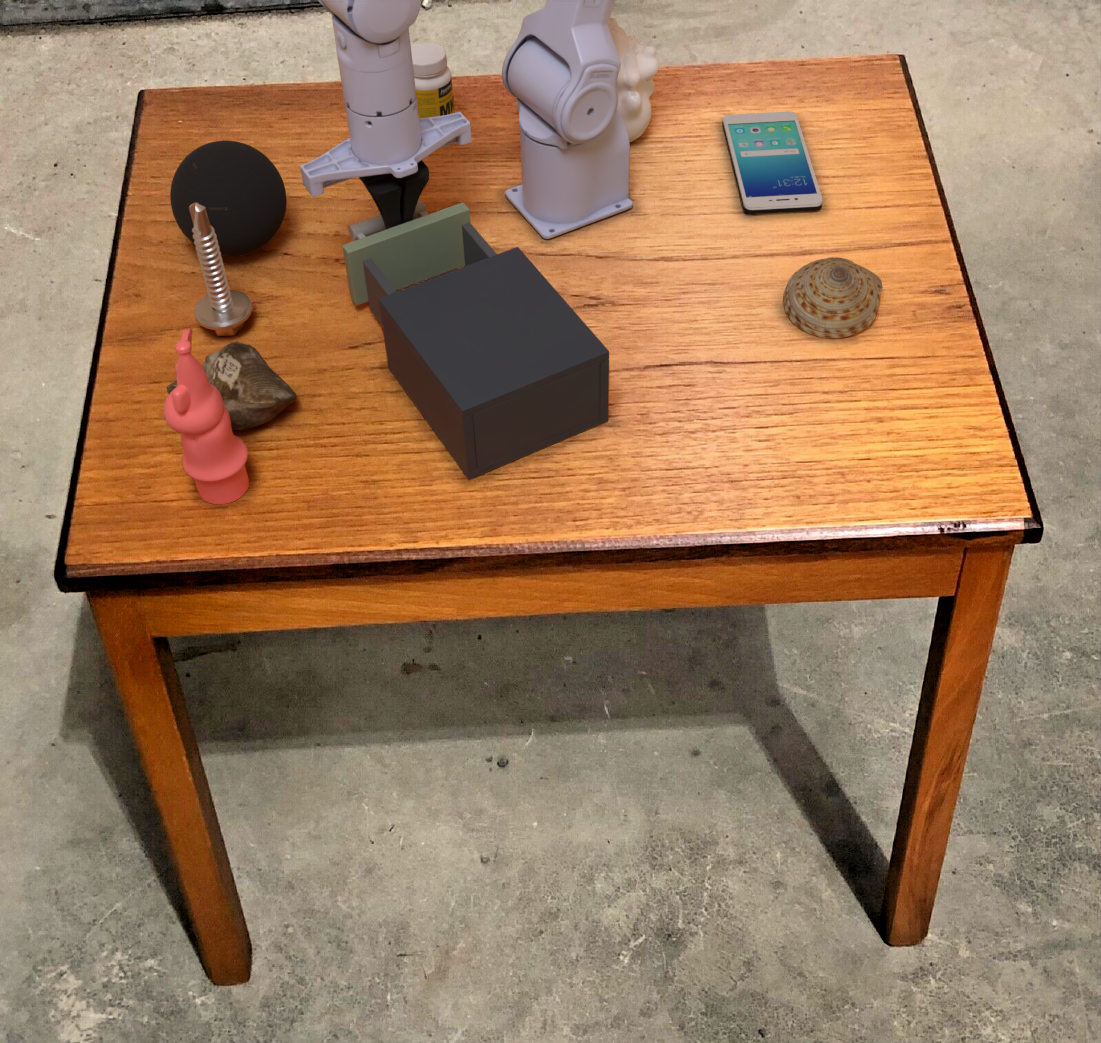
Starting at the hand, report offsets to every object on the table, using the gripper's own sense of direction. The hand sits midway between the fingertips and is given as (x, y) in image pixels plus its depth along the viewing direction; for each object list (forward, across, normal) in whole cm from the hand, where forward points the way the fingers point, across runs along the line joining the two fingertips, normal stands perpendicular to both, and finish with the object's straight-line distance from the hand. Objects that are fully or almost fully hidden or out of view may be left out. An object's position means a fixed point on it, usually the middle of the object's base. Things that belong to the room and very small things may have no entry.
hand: (398, 234), depth 124 cm
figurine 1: (+4, -23, -16) cm, 28 cm away
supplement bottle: (+5, +12, +18) cm, 22 cm away
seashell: (+5, +30, -23) cm, 38 cm away
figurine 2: (+5, +27, +7) cm, 28 cm away
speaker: (+4, -11, +11) cm, 16 cm away
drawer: (+3, 0, -6) cm, 7 cm away
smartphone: (+5, +37, -4) cm, 37 cm away
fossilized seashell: (+4, -19, -9) cm, 21 cm away
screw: (+4, -16, +1) cm, 17 cm away
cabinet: (+4, 0, -18) cm, 18 cm away
